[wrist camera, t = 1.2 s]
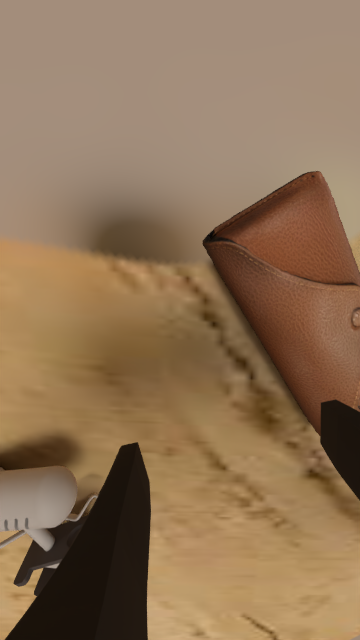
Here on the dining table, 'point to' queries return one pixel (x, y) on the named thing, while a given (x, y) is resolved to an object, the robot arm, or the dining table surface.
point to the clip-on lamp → (40, 516)
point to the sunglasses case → (297, 289)
